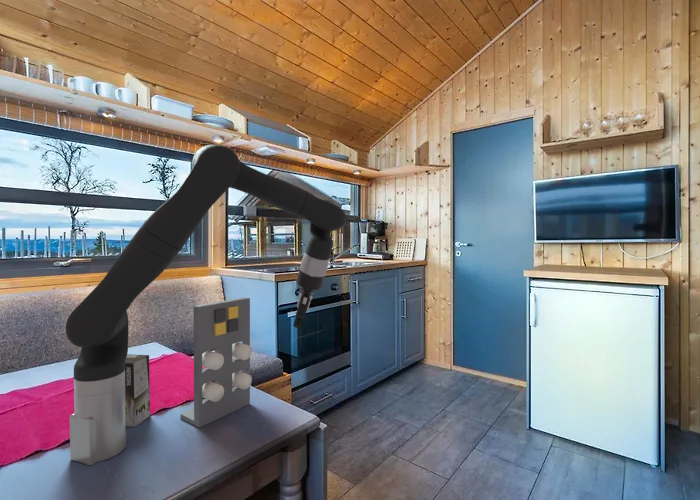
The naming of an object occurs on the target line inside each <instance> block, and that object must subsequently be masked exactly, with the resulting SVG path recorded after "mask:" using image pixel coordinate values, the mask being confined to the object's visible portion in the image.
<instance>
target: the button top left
mask: <svg viewBox="0 0 700 500" xmlns="http://www.w3.org/2000/svg"><path fill="white" fill-rule="evenodd" d="M223 363H224V357H223V355H222V354H219V353H216V352H215V351H213V350H210V351H206V352H203V353H202V367H203V368H204V367H207V368H210V369H213V370H218V369H220V368H221V367H222V365H223Z"/></svg>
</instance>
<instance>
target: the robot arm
mask: <svg viewBox="0 0 700 500" xmlns="http://www.w3.org/2000/svg"><path fill="white" fill-rule="evenodd" d="M230 188H231V189H235V190H237V191H239V192H242V193H245V194H248V195H251V196H253V197H254V198H256V199H259V200H261V201H263V202H265V203H267V204H269V205H271V206H272V207H275V208H277V209H279V210H282V211H284V212H286V213H289V214H292V215H293V216H296V217H299V218H302V219H305V220H307V221H308V222H309V236H308V237H309V238H308V241H307V244H306V247H305V252H304V254H303V257H302V258H301V262H300V266H299V270H298V273H297V277H296V284H297V285H298V286H300V289H299V293H298V299H297V303H296V307H297V310H296V312H295V318H294V322H293V327H294V328H297V329H301V328H302V325H303V323H304V322H303V321H304V319H305V318H306V314H307V311H308V310H309V308H310V304H311V301H312V300H313V297H314V291H319V290H321V289H322V287H323V283H324V280H325V277H326V273H327V271H328V267H329V262H330V261H329V260H330V256H331V254H332V250H333V246H334V240H333V238H332V232H335V231H338V230H340V229H342V228H343V227H344V225H345V223H346V219H347V218H346V213H345V212H344V210H343V208H341V206H339V205H338V204H336V203H334V202H333V201H331V200H328V199H321V198H319V197H318V196H315V195H314V194H312V193H311V192H309V191H308V190H305V189H304V188H302V187H299V186H297V185H295V184H293V183H290V182H287V181H286V180H283V179H280V178H277V177H275V176H272V175H269V174H266V173H265V172H261V171H259V170H257V169H255V168H253V167H251V166H249V165H248V164H245V163H244V162H242V161H240V159H239V157H238V155H237V153H236V152H235V151H233V150H232V149H231V148H229V147H228V146H226V145H225V146H224V145H222V144H207V145H204V146H201V147H200V148H199V149H198V150H196V152H195V153H194V155H193V157H192V168H191V170H190V172H189V174H188V175H187V177H186V178H185V180H184V181H183V183H182V184H181V185H180V187H179V189H177V191H176V192H175V193H174V194H173V195H172V196H171V197H169V199H166V201H165V202H163V203H162V205H160V206H159V207H158V208H157V209H156V210H155V211H154V212H152V214H151V215H149V217H148V218H147V219H146V220H145V221H144V223H143V224H141V226H140V227H139V229H137V231H136V232H135V234H134V235H133V236H132V238H131V239H130V241H129V242H128V244H127V245H126V246H125V247H124V249H123V251H121V253H120V255H118V257H117V258H116V259H115V261H114V263H113V265H111V267H110V269H109V270H108V272H107V274H105V276H104V277H103V279H102V280H101V281H100V282H98V285H96V286H95V288H93V290H91V292H90V293H89V294H88V295H87V296H86V297H85V298H84V299H83V300H82V301H81V302H80V303H79V304H78V305H77V306H76V307H75V308H74V309H73V311H71V312H70V314H69V316H68V317H67V320H66V323H65V334H66V337H67V340H68V341H69V342H70V343H71V344H72V345H74V346H75V347H78V348H81V349H80V353H79V354H78V355H79V356H78V358H77V359H76V362H75V364H74V366H73V403H74V404H73V406H74V408H73V409H74V411H73V412H74V413H72V414H70V415H69V444H70V445H69V449H70V450H69V451H70V452H69V453H70V454H69V455H70V460H71V461H74V462H77V463H81V464H85V465H88V466H93V465H94V464H96V463H98V462H103V461H106V460H108V459H111V458H113V457H115V456H117V455H118V454H120V453H121V452H122V451H123V450H124V449H125V448H126V446H127V436H126V435H127V434H126V433H127V430H126V429H127V428H126V427H127V426H126V413H125V360H126V357H127V354H129V353H128V351H129V315H128V312H127V311H128V309H129V308H130V306H131V305H132V304H133V302H134V301H135V299H136V298H137V297H138V296H139V295H140V294H141V293H142V292H143V291H144V290H145V289H146V288H147V287H149V285H151V284H152V283H153V282H154V281H155V280H156V279H157V278H158V277H160V275H161V274H162V273H163V272H164V271H165V270H166V269H167V268H168V267H169V266H170V264H171V263H172V262H173V261H174V260H175V258H176V257H177V256H178V254H179V253H180V251H182V249H183V248H184V247H185V245H186V244H187V242H188V241H189V239H190V238H191V236H192V235H193V234H194V232H195V231H196V230H197V227H198V226H199V224H200V223H201V221H202V220H203V218H204V217H205V215H206V214H207V213H208V212H209V211H210V209H211V208H212V207H213V205H215V203H216V202H217V201H218V200H219V199H220V198H221V197H222V196H223V195H224V193H226V192H227V191H228V190H229V189H230Z"/></svg>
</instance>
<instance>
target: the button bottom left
mask: <svg viewBox="0 0 700 500" xmlns="http://www.w3.org/2000/svg"><path fill="white" fill-rule="evenodd" d="M223 394H224V388H223V386H221V385H218V384H216V383H213V382H208V383H205V384H204V385H203V386H202V398H204V399H208V400H211V401H213V402H217V401H219V400H220V399H221V398H222V397H223Z"/></svg>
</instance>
